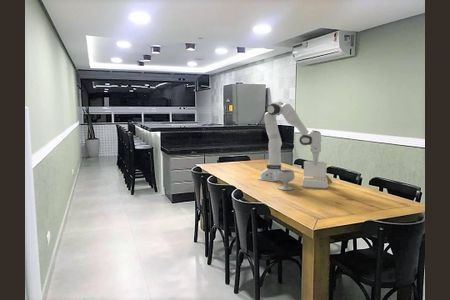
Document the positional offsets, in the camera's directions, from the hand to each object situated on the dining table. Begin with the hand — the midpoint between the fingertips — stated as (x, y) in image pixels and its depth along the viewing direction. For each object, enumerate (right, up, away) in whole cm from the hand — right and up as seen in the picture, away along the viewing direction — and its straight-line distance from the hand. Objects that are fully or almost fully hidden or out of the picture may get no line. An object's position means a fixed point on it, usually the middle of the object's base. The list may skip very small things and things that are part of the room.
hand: (315, 165), depth 284 cm
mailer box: (-2, -18, -3) cm, 18 cm away
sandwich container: (+12, -16, +20) cm, 28 cm away
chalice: (-29, -19, -14) cm, 37 cm away
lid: (0, -3, +2) cm, 4 cm away
